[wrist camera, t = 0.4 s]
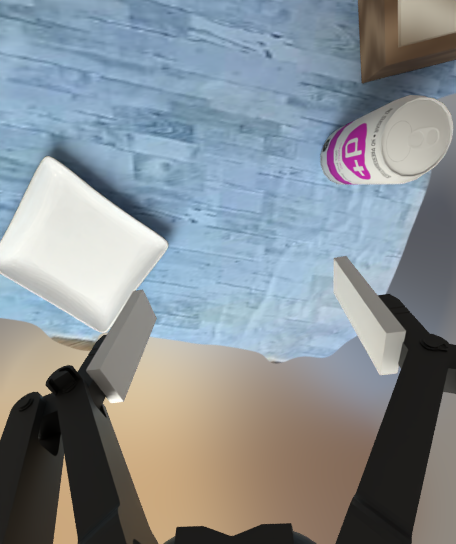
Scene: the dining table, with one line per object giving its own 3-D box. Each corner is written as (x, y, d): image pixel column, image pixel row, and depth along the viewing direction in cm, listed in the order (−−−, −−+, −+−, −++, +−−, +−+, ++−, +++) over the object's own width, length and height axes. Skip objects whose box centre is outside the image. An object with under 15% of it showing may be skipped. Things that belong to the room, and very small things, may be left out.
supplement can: (319, 188, 40) (372, 189, 26) (318, 130, 37) (376, 96, 23) (370, 181, 40) (452, 178, 26) (373, 122, 37) (466, 82, 23)
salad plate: (2, 261, 43) (-16, 267, 40) (58, 154, 38) (43, 151, 35) (112, 326, 48) (104, 337, 44) (175, 239, 43) (171, 243, 39)
